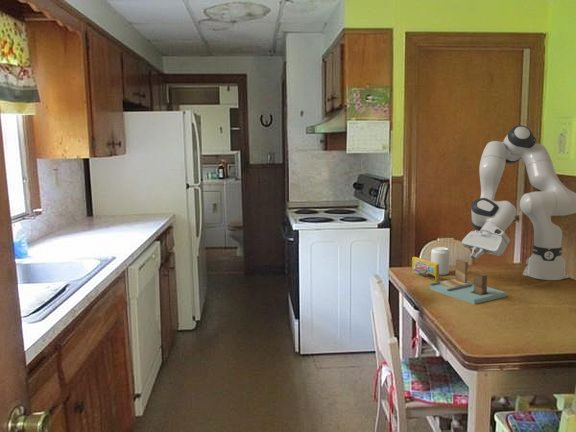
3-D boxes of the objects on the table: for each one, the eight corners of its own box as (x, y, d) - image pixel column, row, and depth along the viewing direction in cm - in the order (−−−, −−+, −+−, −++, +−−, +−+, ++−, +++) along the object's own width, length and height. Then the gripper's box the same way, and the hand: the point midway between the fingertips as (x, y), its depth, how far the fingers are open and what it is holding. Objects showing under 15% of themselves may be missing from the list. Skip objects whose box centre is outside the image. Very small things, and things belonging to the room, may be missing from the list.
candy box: (411, 274, 240) (411, 257, 239) (414, 273, 241) (415, 256, 240) (435, 282, 226) (436, 264, 225) (439, 281, 227) (440, 263, 226)
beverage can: (436, 270, 246) (437, 246, 244) (451, 273, 240) (452, 248, 238) (427, 273, 240) (427, 248, 239) (442, 276, 234) (443, 251, 233)
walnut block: (478, 294, 204) (479, 273, 203) (486, 297, 201) (487, 274, 200) (473, 296, 202) (474, 274, 201) (481, 298, 199) (482, 276, 198)
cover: (455, 280, 218) (455, 258, 217) (469, 285, 211) (470, 262, 210) (439, 284, 214) (440, 261, 212) (454, 288, 207) (455, 265, 205)
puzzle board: (460, 284, 222) (460, 277, 221) (505, 298, 202) (506, 290, 201) (429, 291, 213) (430, 283, 212) (474, 306, 193) (474, 297, 193)
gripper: (469, 225, 229) (452, 248, 227) (506, 232, 211) (488, 258, 209) (476, 233, 232) (459, 257, 229) (513, 241, 214) (495, 267, 211)
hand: (473, 257), depth 219 cm, fingers closed
